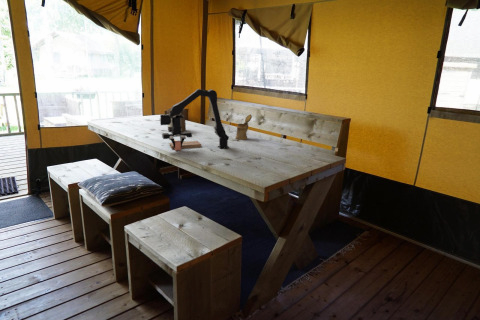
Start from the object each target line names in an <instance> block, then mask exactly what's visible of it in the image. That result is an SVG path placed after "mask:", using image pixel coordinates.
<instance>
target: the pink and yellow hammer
mask: <svg viewBox="0 0 480 320" xmlns="http://www.w3.org/2000/svg"><path fill="white" fill-rule="evenodd" d="M174 141H175V148H174V149H173V150H175V151H181V150H182V148H181V142H180V140H176V139H174Z"/></svg>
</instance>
